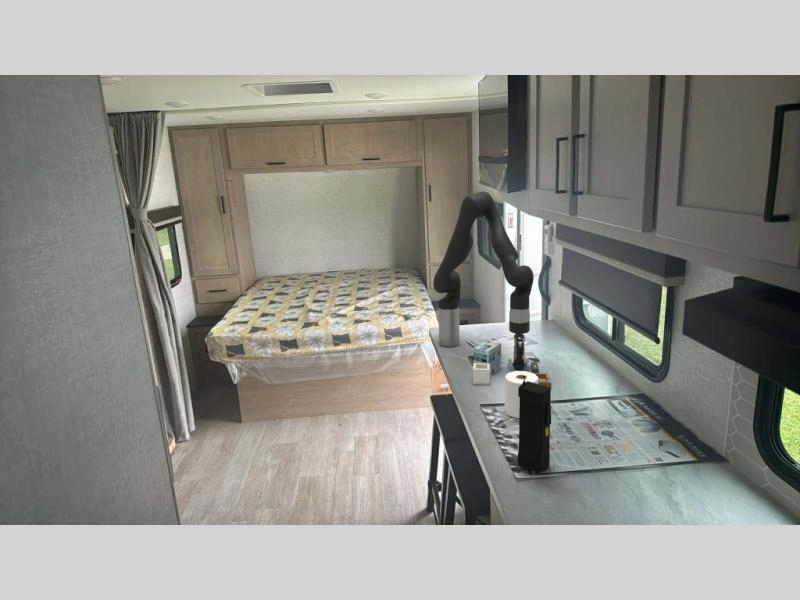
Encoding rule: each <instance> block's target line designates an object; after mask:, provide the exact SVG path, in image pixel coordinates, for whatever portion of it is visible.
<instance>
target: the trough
mask: <svg viewBox="0 0 800 600" xmlns="http://www.w3.org/2000/svg"><path fill="white" fill-rule="evenodd" d="M534 374H535V375H536V376H537V377H538V384H539V385H543V386H546V387H549V388H551V389H552V381H551V377H550V374H549V373H544V372H543V373H542V372H540V373H534Z"/></svg>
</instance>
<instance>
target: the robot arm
mask: <svg viewBox="0 0 800 600" xmlns="http://www.w3.org/2000/svg"><path fill="white" fill-rule="evenodd" d="M482 217H484V218H485V219H486V221H487V223H488V225H489V228H490V238H491V239H490V241H491V242H490V243H491V247H492V249H493V251H494V253H495V255H496V257H497V258H498V260H499V262H500V263H501V268H502V271H503V275H504V278H505V280H506V282H507V283H508V284H509V285H510V286H511V287H514V288H515V289H514V290H513V291H512V292H511V293H510V297H509V312H508V313H509V314H508V323H509V324H508V330H509V332H510V333H513V334H514V335H513V342H514V343H513V344H514V345H515V349H516V364H517V365H522V356H523V349H524V346H525V341H526V337H525V334H529V332H530V330H531V327H530V324H531V323H530V322H531V321H530V320H531V312H530V296H531V292H532V289H533V284H534V272H533V269H532V268H531V267H530V266H528V265H526V264H525V265H523V264H522V265H520V266H519V265H518V263H517V260H518V259H519V256H520V255H519V253H518V251H517V249H516V248H515V245H514V244H513V242H512V240H511V239H510V237H509V235H508V233H507V231H506V229H505V226H504V223H503V221H502V219H501V215H500V213H499V211H498V207H497V205H496V202H495V201H494V199H493V197H492V195H491V194H490V193H489V192H487V191H479V192H474V193H471V194H469V195H465V197H464V198H463V200H462V202H461V205H460V208H459V213H458V218H457V220H456V224H455V227H454V230H453V233H452V236H451V237H450V240H449V242H448V245H447V248H446V252H445V254H444V257H443V259H442V261H441V263H440V265H439V267H438V268H437V270H436V273H435V275H434V277H433V285H432V286H433V288H434V291H435V292H436V293H438V294H446V295H445V296H444V297H442V298H440V299H439V300H438V302H437V312H438V316H437V317H438V343H439V345H440V346H441V347H445V348H453V347H457V346H459V345H460V342H461V341H460V340H461V339H460V336H461V335H460V302H461V288H462V287H461V286H462V285H461V282H462V281H461V276H460V274H459V272H458V271H456V269H457V268H459V267H460V266H461V265H462V264H463V263H464V262H465V261H466V260H467V259H468V257H469V255H470V253H471V251H472V249H473V246H474V238H473V235H472V227H473V225H474V223H475V221H476V220H477V219H479V218H482ZM514 345H513V346H514ZM516 345H517V347H516ZM518 351H521V352H518Z"/></svg>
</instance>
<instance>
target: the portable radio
mask: <svg viewBox="0 0 800 600" xmlns="http://www.w3.org/2000/svg"><path fill="white" fill-rule="evenodd" d="M523 377H524V382H523V384H522V385H520V386H519V388H518V397H520V409H519V418H518V419H519V420H518V421H519V422H518V423H519V424H518V427H519V428H518V429H519V430H518V451H517V466H519V465H520V466H519V467H522V466H523V467H522V468H524V467H525V468H524V469H526V468H528V469H527V470H529V471H531V472H533V471H534V472H533V473H535V472H536V473H535V474H539V473H542V472H543V471H544V470H545V469H546V467H547V468H548V467H549V466H550V465H551V461H550V460H551V459H550V457H551V456H550V455H551V454H550V451H551V450H550V448H551V447H550V440H551V439H550V436H551V425H552V405H551V399H552V397H551V393H552V387H551V388H549V387H546V386H543V385H539V384H536V383H533V382H529V381H527V382H525V376H523Z"/></svg>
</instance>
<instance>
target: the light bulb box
mask: <svg viewBox="0 0 800 600" xmlns="http://www.w3.org/2000/svg"><path fill="white" fill-rule="evenodd" d="M473 363H484V364H490V377H491V376H493V375H494V374H496V373H497V372H499V371H500V370H501V369H502V343H501V342H497V341H490V340H485V341H483V342H481V343H480V344H479V345H476V346H475V347H473Z"/></svg>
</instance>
